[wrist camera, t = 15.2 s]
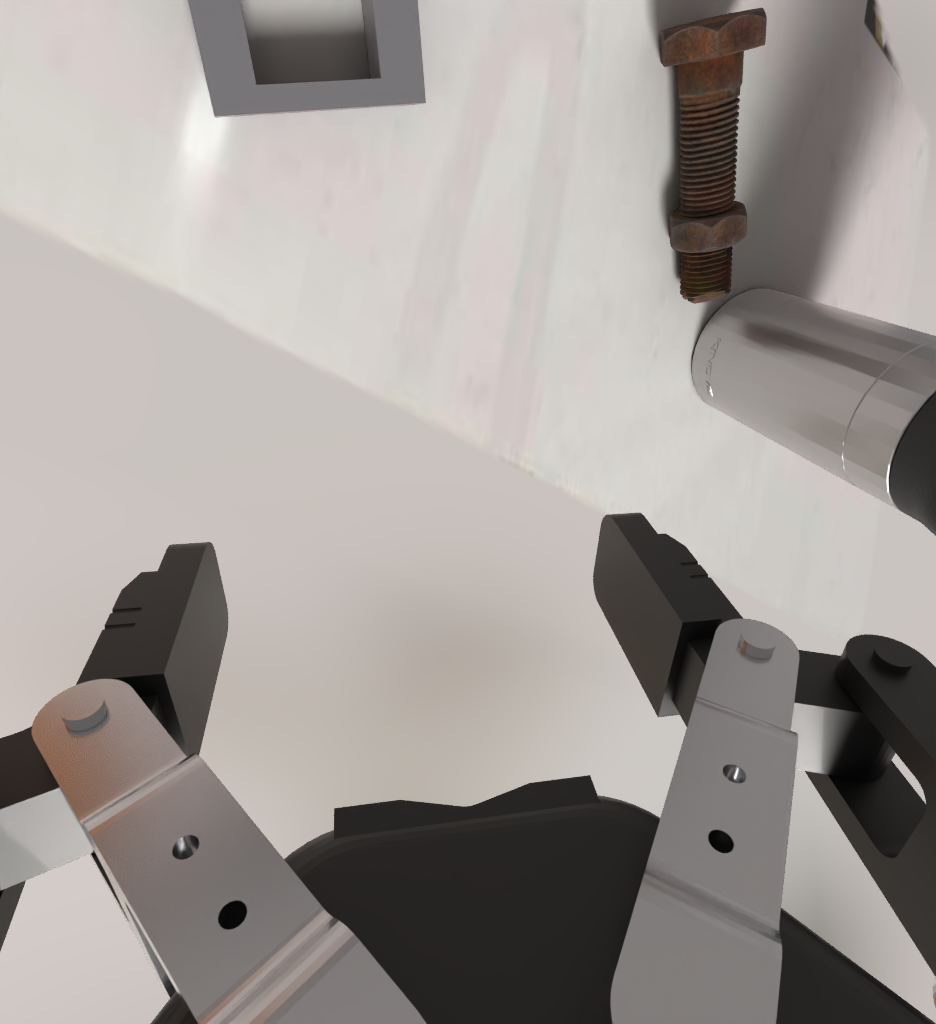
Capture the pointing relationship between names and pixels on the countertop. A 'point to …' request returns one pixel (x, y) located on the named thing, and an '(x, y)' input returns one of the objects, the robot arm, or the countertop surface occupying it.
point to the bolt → (709, 145)
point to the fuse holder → (237, 93)
